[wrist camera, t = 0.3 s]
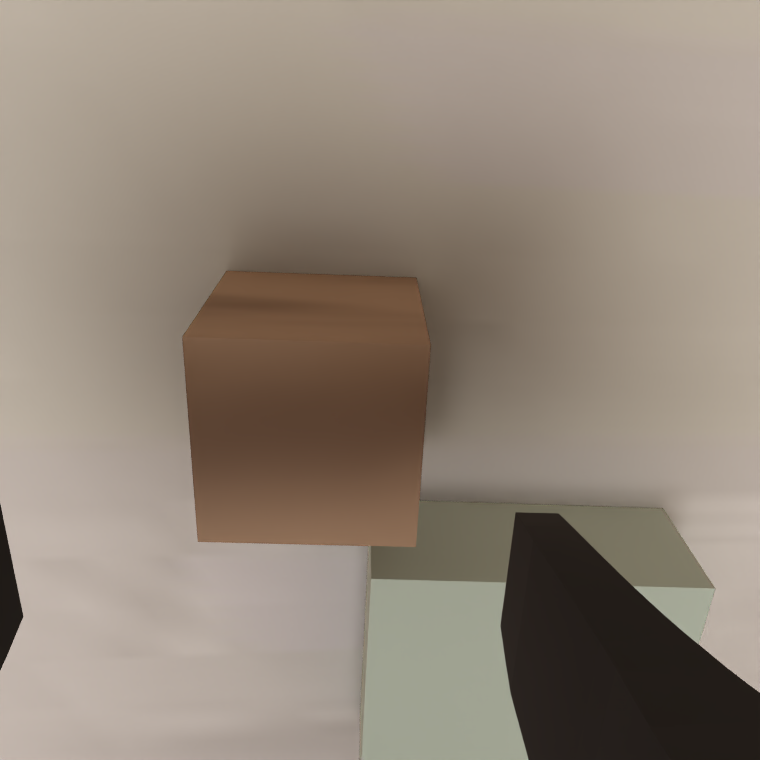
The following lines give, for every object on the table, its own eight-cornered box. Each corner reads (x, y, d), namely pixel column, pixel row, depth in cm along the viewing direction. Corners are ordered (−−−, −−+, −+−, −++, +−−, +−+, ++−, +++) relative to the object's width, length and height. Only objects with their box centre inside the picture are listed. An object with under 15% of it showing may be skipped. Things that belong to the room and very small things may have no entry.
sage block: (608, 711, 26) (647, 817, 22) (360, 706, 26) (358, 813, 22) (658, 502, 23) (715, 588, 19) (370, 493, 22) (371, 578, 19)
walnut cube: (405, 441, 21) (415, 546, 17) (235, 437, 21) (197, 541, 17) (416, 276, 19) (430, 344, 15) (227, 270, 19) (182, 337, 14)
